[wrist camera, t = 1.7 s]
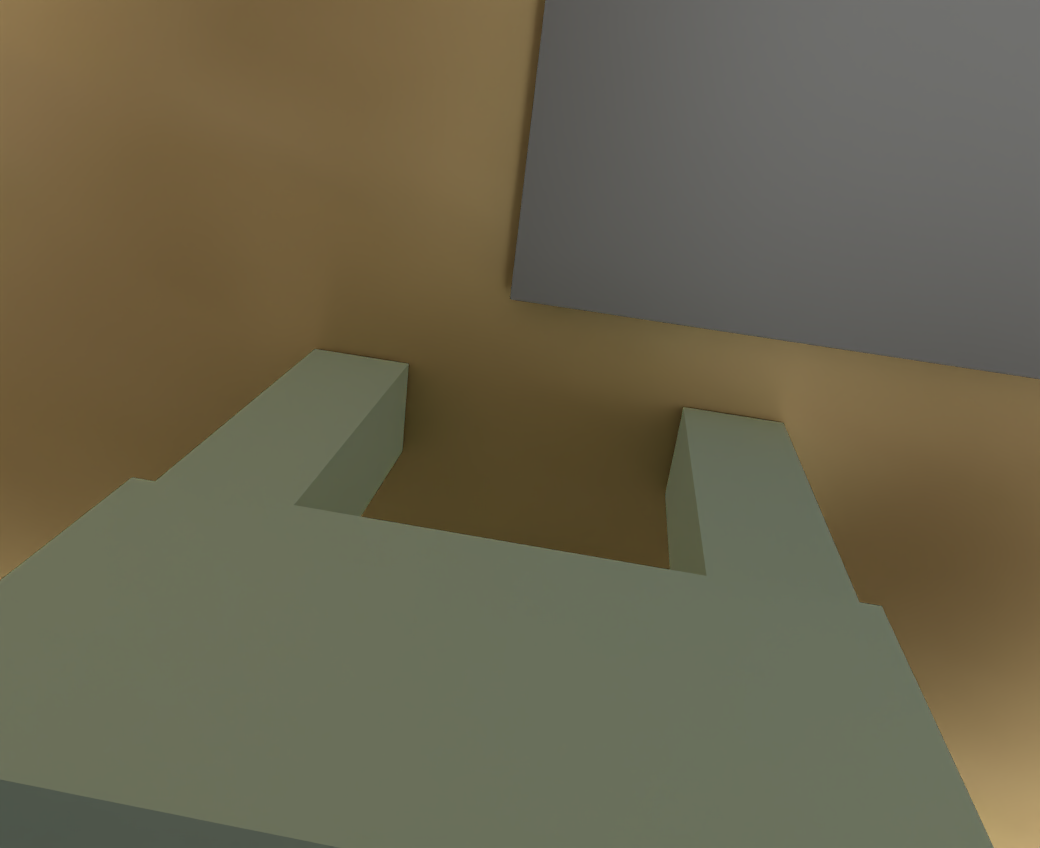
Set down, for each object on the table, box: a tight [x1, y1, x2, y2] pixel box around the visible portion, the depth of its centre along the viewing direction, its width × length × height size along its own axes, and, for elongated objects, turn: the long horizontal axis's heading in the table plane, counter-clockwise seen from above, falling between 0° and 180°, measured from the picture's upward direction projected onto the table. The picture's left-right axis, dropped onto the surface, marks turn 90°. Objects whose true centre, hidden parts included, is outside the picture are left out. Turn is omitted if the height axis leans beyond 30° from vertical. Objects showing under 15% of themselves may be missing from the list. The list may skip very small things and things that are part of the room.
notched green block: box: [0, 349, 994, 848], centre depth 8 cm, size 6×6×7 cm
